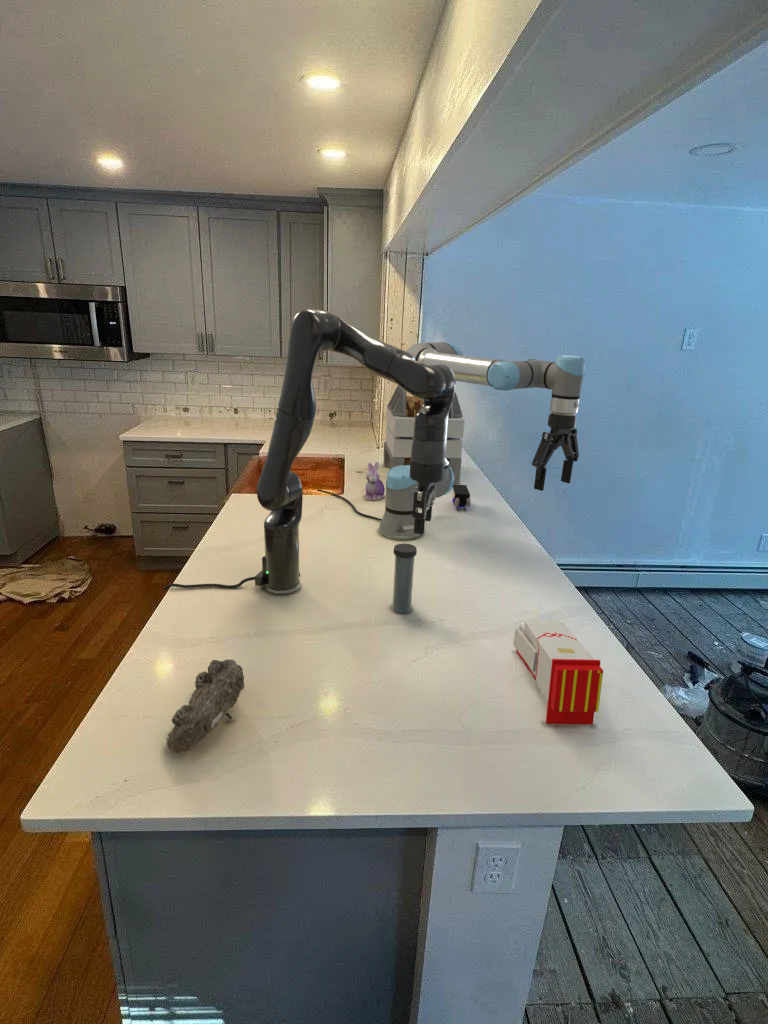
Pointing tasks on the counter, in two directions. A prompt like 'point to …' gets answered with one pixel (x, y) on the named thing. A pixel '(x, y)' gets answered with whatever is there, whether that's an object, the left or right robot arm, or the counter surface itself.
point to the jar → (403, 584)
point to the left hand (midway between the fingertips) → (422, 526)
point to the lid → (405, 550)
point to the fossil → (206, 705)
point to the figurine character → (461, 496)
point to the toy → (561, 671)
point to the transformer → (402, 431)
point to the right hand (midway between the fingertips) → (552, 485)
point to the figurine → (374, 483)
